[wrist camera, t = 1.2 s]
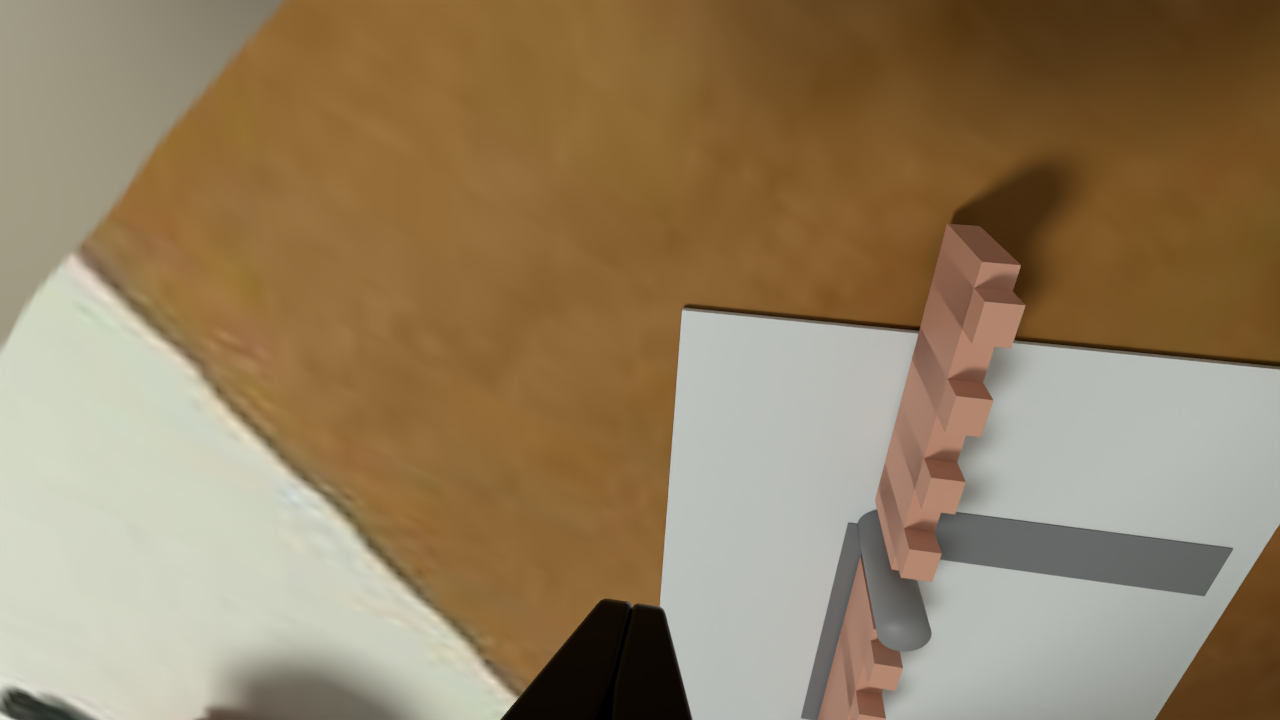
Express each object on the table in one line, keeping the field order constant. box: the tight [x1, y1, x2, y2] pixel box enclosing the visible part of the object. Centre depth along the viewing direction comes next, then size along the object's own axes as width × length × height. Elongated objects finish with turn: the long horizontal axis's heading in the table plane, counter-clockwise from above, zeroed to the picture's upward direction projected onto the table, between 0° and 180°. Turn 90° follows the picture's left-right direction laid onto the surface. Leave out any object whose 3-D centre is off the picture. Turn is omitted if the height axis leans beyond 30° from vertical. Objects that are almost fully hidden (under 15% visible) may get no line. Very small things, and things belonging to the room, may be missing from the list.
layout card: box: [660, 308, 1280, 720], centre depth 23 cm, size 20×18×1 cm
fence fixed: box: [818, 510, 932, 720], centre depth 22 cm, size 11×1×4 cm, turn 178°
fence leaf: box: [875, 224, 1026, 582], centre depth 17 cm, size 9×1×4 cm, turn 178°
